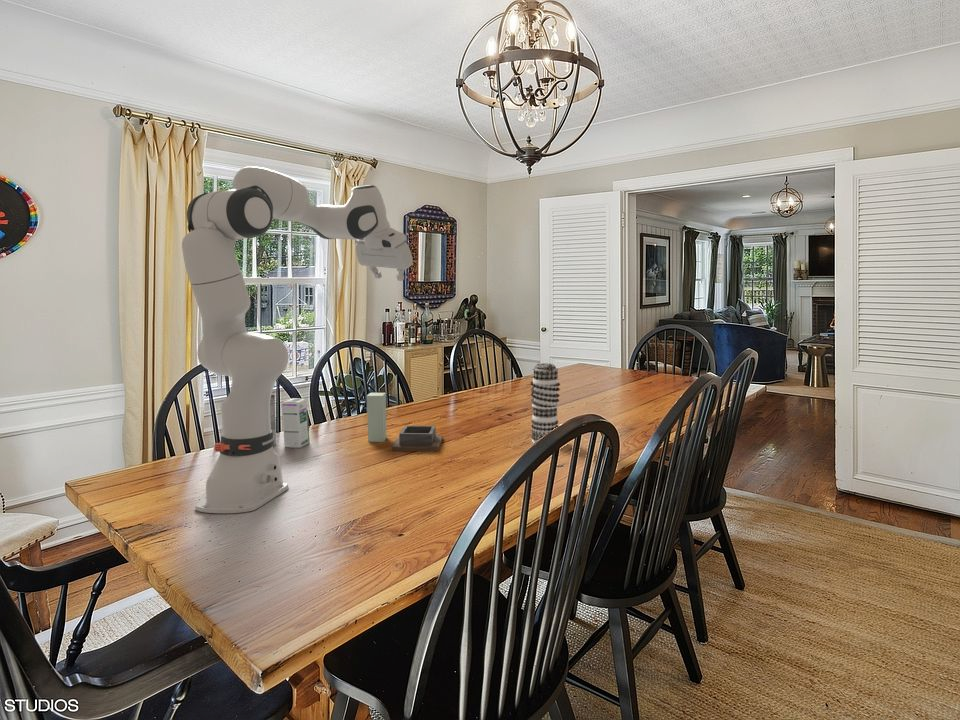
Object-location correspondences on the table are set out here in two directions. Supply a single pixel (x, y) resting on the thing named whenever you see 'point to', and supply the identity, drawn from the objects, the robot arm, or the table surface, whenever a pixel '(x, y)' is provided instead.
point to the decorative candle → (544, 400)
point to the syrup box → (295, 422)
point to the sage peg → (376, 417)
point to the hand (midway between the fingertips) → (389, 278)
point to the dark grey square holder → (418, 439)
